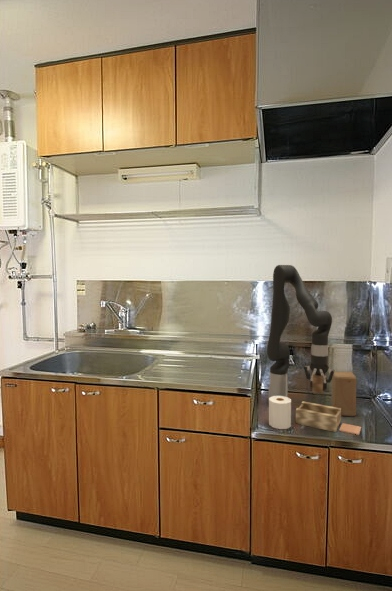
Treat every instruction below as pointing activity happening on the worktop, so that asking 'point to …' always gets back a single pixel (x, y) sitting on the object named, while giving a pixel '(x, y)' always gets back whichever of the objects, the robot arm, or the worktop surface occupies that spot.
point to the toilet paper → (280, 412)
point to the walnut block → (317, 384)
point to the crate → (318, 416)
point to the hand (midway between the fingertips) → (318, 389)
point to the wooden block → (344, 392)
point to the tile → (350, 429)
